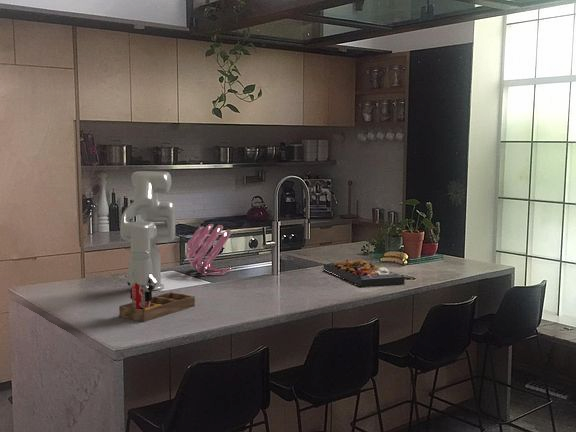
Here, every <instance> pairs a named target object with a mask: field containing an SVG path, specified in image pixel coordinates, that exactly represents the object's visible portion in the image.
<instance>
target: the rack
mask: <svg viewBox="0 0 576 432" xmlns="http://www.w3.org/2000/svg"><path fill="white" fill-rule="evenodd" d="M195 298H196V297H195V295H190V294H185V293H178V292H172V291H169V292H166V293H163V294H157V295H154V296H152V300H151V301H150V307H148V308H144V310H141V309H136V308H132V302H129V303H125V304H121V305H119V309H118V310H119V311H118V312H119V317H121V318H124V319H129V320H135V321H140V322H147V321H151V320H154V319H158V318H161V317H163V316H164V317H165V316H168V315H171V314H173V313H177V312H179V311H183V310H186V309H190V308H193V307H195V306H196V304H195V303H196V302H195V301H196V300H195Z"/></svg>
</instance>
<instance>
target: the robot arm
mask: <svg viewBox="0 0 576 432" xmlns="http://www.w3.org/2000/svg"><path fill="white" fill-rule="evenodd" d="M131 183H132V185H133V186H134V195H133V202H131V203H130V204H129V205H128V206H127V207H126V208H125V210H124V211H123V213H122V215H121V219H120V229H119V230H120V232H119V233H120V237H121V239H122V240H124V241H130V252H129V254H130V258H129V260H128V266H127V268H128V269H127V276H125V281H126V282H127V285H128V288H129V289H130V299H131V300H132V284H134V283H137V284H139V285H142V286H144V287H145V289H146V292H145V301H146V302H148V301H151V300H152V297H153V295H152V294H153V291H159V290H162V289H164V288H165V285H164V284H163V283H161V251H160V248H159V246H157V245H156V243H172V242H174V241H175V239H176V210H175V205H174V204H173V203H172V202H171V201H160V200H159V194H166V193H169V192H170V190H171V187H172V175H171V173H170V172H168V171H147V170H145V171H144V170H143V171H134V172H133V173H132V174H131ZM139 215H140V218H141V221H131V220H132V219H133V218H135V217H137V216H139ZM147 285H149V288H148V286H147Z"/></svg>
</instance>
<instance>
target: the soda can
mask: <svg viewBox="0 0 576 432" xmlns="http://www.w3.org/2000/svg"><path fill="white" fill-rule="evenodd" d="M147 286H148V288H149V285H147ZM145 292H146V289H145V287H144V286H142V285H139V284H137V283H134V284H132V299H131V303H132V308H136V309H141V310H144V308H148V307H150V301H148V302H146V301H145Z"/></svg>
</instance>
